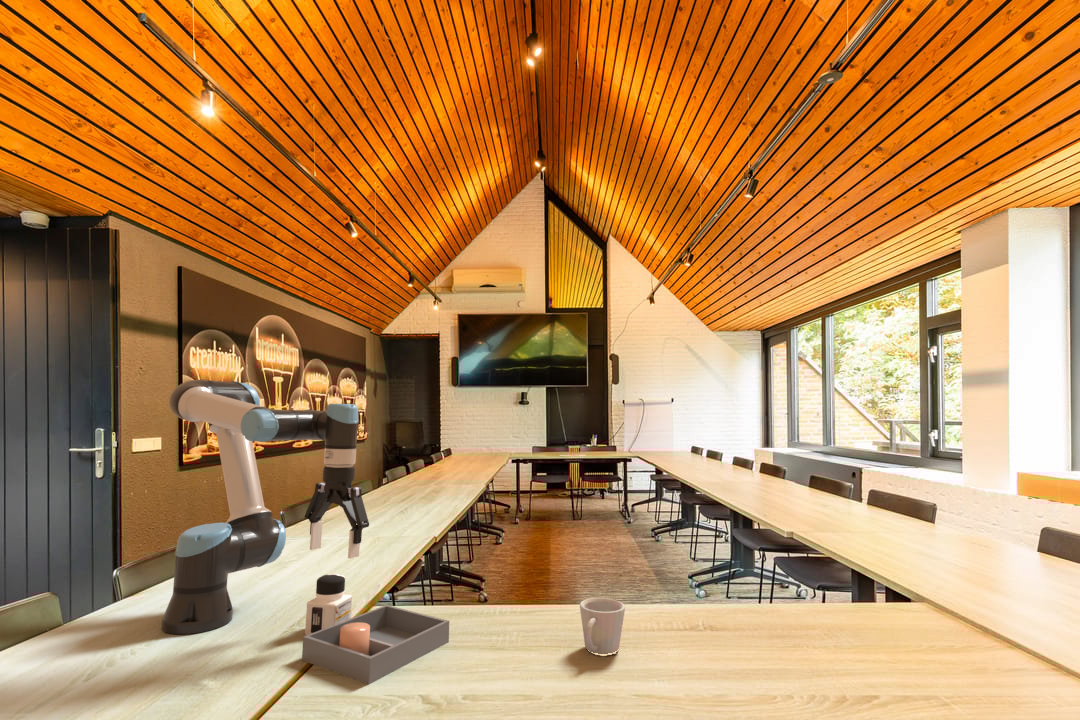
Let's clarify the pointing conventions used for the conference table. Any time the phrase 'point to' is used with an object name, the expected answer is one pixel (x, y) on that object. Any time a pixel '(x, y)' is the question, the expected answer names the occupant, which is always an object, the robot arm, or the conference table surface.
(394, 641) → the tray
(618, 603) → the mug
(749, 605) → the conference table surface
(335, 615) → the container
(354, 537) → the robot arm
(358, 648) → the peach cylinder
